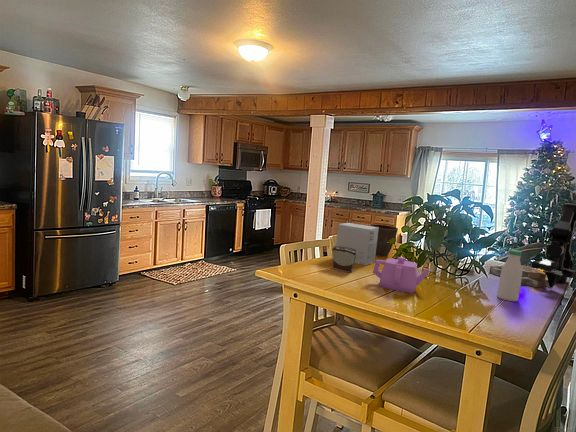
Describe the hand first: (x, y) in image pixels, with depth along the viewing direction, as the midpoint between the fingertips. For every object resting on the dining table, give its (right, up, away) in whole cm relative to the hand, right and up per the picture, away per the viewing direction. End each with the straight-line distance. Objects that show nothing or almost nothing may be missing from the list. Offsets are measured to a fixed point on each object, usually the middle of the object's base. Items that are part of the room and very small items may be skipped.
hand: (551, 287), depth 193 cm
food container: (-95, +8, -2) cm, 96 cm away
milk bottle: (-32, -1, -23) cm, 40 cm away
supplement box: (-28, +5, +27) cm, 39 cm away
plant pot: (-70, +11, +41) cm, 81 cm away
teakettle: (-76, +4, -22) cm, 79 cm away
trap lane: (-7, +2, +15) cm, 17 cm away
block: (-3, 0, +7) cm, 7 cm away
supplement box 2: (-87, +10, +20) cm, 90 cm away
